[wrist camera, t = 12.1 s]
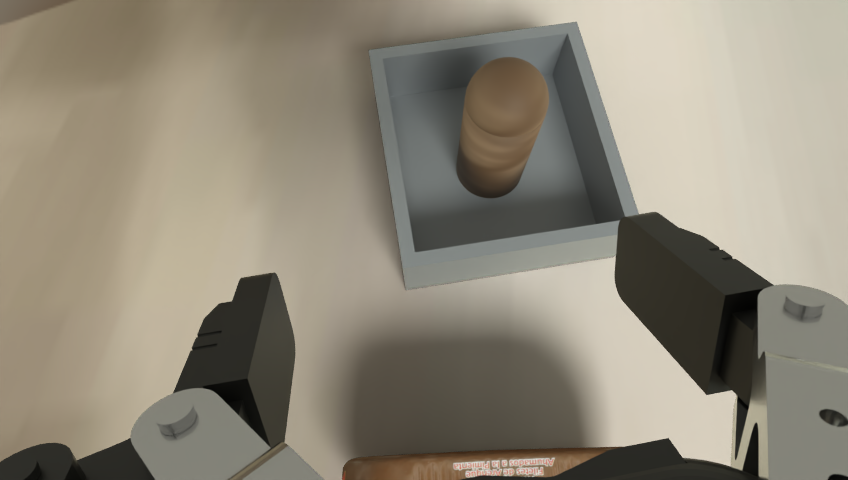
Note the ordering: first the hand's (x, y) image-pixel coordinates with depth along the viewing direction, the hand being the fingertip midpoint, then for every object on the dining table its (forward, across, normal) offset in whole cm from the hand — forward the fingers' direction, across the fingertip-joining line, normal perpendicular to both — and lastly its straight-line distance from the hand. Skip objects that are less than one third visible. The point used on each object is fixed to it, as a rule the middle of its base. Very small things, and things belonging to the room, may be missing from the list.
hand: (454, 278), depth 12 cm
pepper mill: (+22, -6, +6) cm, 24 cm away
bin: (+23, -6, +6) cm, 24 cm away
